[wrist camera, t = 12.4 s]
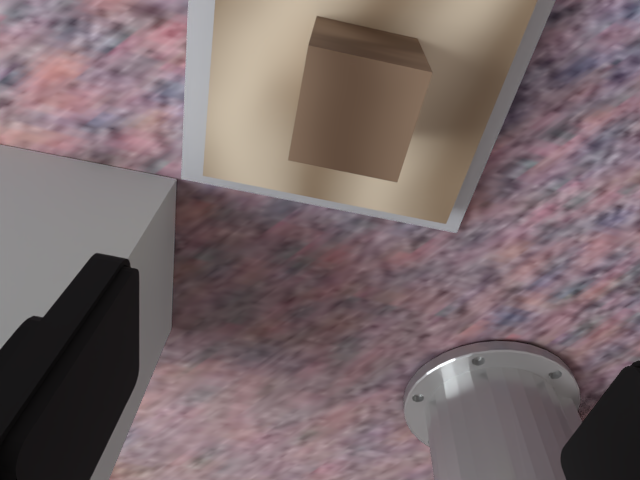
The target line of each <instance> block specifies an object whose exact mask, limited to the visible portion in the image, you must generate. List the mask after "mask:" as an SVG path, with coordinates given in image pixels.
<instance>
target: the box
mask: <svg viewBox="0 0 640 480" xmlns="http://www.w3.org/2000/svg"><path fill="white" fill-rule="evenodd" d="M176 187H177V179H175V178H170V177H165V176H160V175H154V174H149V173H144V172H139V171H134V170H129V169H124V168H119V167H114V166H108V165H103V164H98V163H93V162H88V161H83V160H78V159H73V158H68V157H62V156H57V155H52V154H47V153H42V152H37V151H32V150H27V149H22V148H16V147H11V146H6V145H1V144H0V349H1V348H2V346H3V345H4V344H5V343H6V342H7V340H8V339H9V338H10V337H11V336H12V334H13V333H14V332H15V331H16V330H17V328H18V327H19V326H20V325H21V324H22V323H23V322H24V321H25V320H26V319H28V318H30V317H32V316H39V317H44V315H45V314H46V313H47V312H48V310H49V309H50V308H51V307H52V305H53V304H54V303H55V302H56V300H57V299H58V298H59V297H60V295H61V294H62V293H63V292H64V290H65V289H66V288H67V287H68V285H69V284H70V283H71V282H72V280H73V279H74V278H75V277H76V275H77V274H78V273H79V272H80V270H81V269H82V268H83V266H84V265H85V264H86V263H87V261H88V260H89V259H90V258H91V257H92V256H93V255H94V254H95V253H101V254H106V255H111V256H116V257H121V258H126V259H128V260H129V261H130V266H131V268H136V269H138V270H139V375H138V379H137V382H136V385H135V387H134V390H133V392H132V394H131V396H130V398H129V400H128V402H127V404H126V406H125V408H124V410H123V412H122V414H121V417H120V419H119V421H118V423H117V425H116V427H115V429H114V431H113V433H112V435H111V437H110V439H109V441H108V443H107V446H106V448H105V450H104V452H103V454H102V456H101V458H100V460H99V462H98V464H97V466H96V468H95V470H94V473H93V475H92V477H91V479H90V480H109V478H110V475H111V473H112V471H113V468H114V466H115V463H116V461H117V459H118V456H119V454H120V451H121V449H122V447H123V444H124V442H125V439H126V437H127V435H128V432H129V430H130V427H131V425H132V423H133V420H134V418H135V415H136V413H137V411H138V408H139V406H140V403H141V401H142V398H143V396H144V394H145V391H146V389H147V386H148V384H149V382H150V379H151V377H152V374H153V372H154V370H155V367H156V365H157V362H158V360H159V358H160V355H161V353H162V350H163V348H164V346H165V343H166V341H167V338H168V336H169V334H170V331H171V329H172V301H173V273H174V244H175V216H176Z"/></svg>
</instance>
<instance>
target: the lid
mask: <svg viewBox="0 0 640 480" xmlns="http://www.w3.org/2000/svg"><path fill="white" fill-rule="evenodd" d="M537 1H538V0H215V10H214V24H213V38H212V52H211V66H210V80H209V94H208V108H207V122H206V137H205V151H204V165H203V176H206V177H211V178H216V179H221V180H226V181H231V182H236V183H242V184H247V185H252V186H257V187H262V188H267V189H272V190H277V191H282V192H287V193H292V194H297V195H302V196H307V197H312V198H317V199H322V200H327V201H332V202H337V203H342V204H347V205H352V206H357V207H362V208H367V209H372V210H377V211H382V212H387V213H392V214H397V215H402V216H407V217H413V218H418V219H423V220H428V221H433V222H438V223H443V224H446V223H447V221H448V218H449V216H450V213H451V211H452V208H453V206H454V203H455V201H456V199H457V196H458V194H459V191H460V189H461V186H462V184H463V181H464V179H465V177H466V174H467V172H468V169H469V167H470V164H471V162H472V159H473V157H474V155H475V152H476V150H477V147H478V145H479V142H480V140H481V137H482V135H483V133H484V130H485V128H486V125H487V123H488V120H489V118H490V115H491V113H492V111H493V108H494V106H495V103H496V101H497V98H498V96H499V93H500V91H501V89H502V86H503V84H504V81H505V79H506V76H507V74H508V71H509V69H510V67H511V64H512V62H513V59H514V57H515V54H516V52H517V49H518V47H519V45H520V42H521V40H522V37H523V35H524V32H525V30H526V27H527V25H528V23H529V20H530V18H531V15H532V13H533V10H534V8H535V5H536V3H537Z"/></svg>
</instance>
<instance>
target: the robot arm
mask: <svg viewBox="0 0 640 480" xmlns="http://www.w3.org/2000/svg"><path fill="white" fill-rule="evenodd" d="M138 375H139V270H138V269H136V268H131V266H130V261H129V260H128V259H126V258H121V257H116V256H111V255H106V254H101V253H95V254H94V255H93V256H92V257H91V258H90V259H89V260H88V261H87V263H86V264H85V265H84V266H83V268H82V269H81V270H80V272H79V273H78V274H77V275H76V277H75V278H74V279H73V280H72V282H71V283H70V284H69V285H68V287H67V288H66V289H65V290H64V292H63V293H62V294H61V295H60V297H59V298H58V299H57V300H56V302H55V303H54V304H53V305H52V307H51V308H50V309H49V310H48V312H47V313H46V314H45V315H44V317H39V316H32V317H30V318H28V319H26V320H25V321H24V322H23V323H22V324H21V325H20V326H19V327H18V328H17V330H16V331H15V332H14V333H13V334H12V336H11V337H10V338H9V339H8V340H7V342H6V343H5V344H4V345H3V346H2V348H1V349H0V480H90V479H91V477H92V475H93V473H94V470H95V468H96V466H97V464H98V462H99V460H100V458H101V456H102V454H103V452H104V450H105V448H106V446H107V443H108V441H109V439H110V437H111V435H112V433H113V431H114V429H115V427H116V425H117V423H118V421H119V419H120V417H121V414H122V412H123V410H124V408H125V406H126V404H127V402H128V400H129V398H130V396H131V394H132V392H133V390H134V387H135V385H136V382H137V379H138ZM580 401H581V399H580V389H579V387H578V384H577V382H576V380H575V377H574V375H573V373H572V372H571V370H570V369H569V367H568V366H567V365H566V364H565V363H564V362H563V361H562V360H561V359H560V358H559V357H557V356H555V355H554V354H552V353H550V352H549V351H547V350H544V349H542V348H539V347H536V346H533V345H530V344H524V343H519V342H509V341H490V342H479V343H474V344H470V345H465V346H461V347H458V348H455V349H453V350H450V351H447V352H445V353H443V354H441V355H439V356H437V357H436V358H434V359H432V360H430V361H429V362H428V363H426V364H425V365H424V366H423V367H421V368H420V369H419V370H418V371H417V372H416V373H415V375H414V376H413V377H412V378H411V379H410V381H409V383H408V385H407V387H406V389H405V393H404V398H403V405H404V415H405V420H406V423H407V425H408V427H409V429H410V430H411V432H412V433H413V434H414V435H415V436H416V437H417V438H418V439H419V440H420V441H421V442H423V443H424V444H425V445H427V446H429V447H430V453H431V460H432V467H433V475H434V480H640V361H636V362H634V363H633V364H632V365H631V366H627V367H625V368H624V369H623V370H622V371H621V372H620V373H619V375H618V376H617V377H616V379H615V380H614V381H613V383H612V384H611V385H610V387H609V388H608V389H607V390H606V392H605V393H604V394H603V396H602V397H601V398H600V400H599V401H598V402H597V404H596V405H595V406H594V408H593V409H592V410H591V411H590V413H589V414H588V415H587V417H586V418H585V419H584V421H582V420H581V419H580V416H579V414H578V410H579V405H580Z"/></svg>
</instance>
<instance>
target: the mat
mask: <svg viewBox="0 0 640 480" xmlns="http://www.w3.org/2000/svg"><path fill="white" fill-rule="evenodd" d="M555 1H556V0H538V1H537V3H536V5H535V8H534V10H533V13H532V15H531V18H530V20H529V23H528V25H527V27H526V30H525V32H524V35H523V37H522V40H521V42H520V45H519V47H518V49H517V52H516V54H515V57H514V59H513V62H512V64H511V67H510V69H509V71H508V74H507V76H506V79H505V81H504V84H503V86H502V89H501V91H500V93H499V96H498V98H497V101H496V103H495V106H494V108H493V111H492V113H491V115H490V118H489V120H488V123H487V125H486V128H485V130H484V133H483V135H482V137H481V140H480V142H479V145H478V147H477V150H476V152H475V155H474V157H473V159H472V162H471V164H470V167H469V169H468V172H467V174H466V177H465V179H464V181H463V184H462V186H461V189H460V191H459V194H458V196H457V199H456V201H455V203H454V206H453V208H452V211H451V213H450V216H449V218H448V221H447V223H446V224H443V223H438V222H433V221H428V220H423V219H418V218H413V217H407V216H402V215H397V214H392V213H387V212H382V211H377V210H372V209H367V208H362V207H357V206H352V205H347V204H342V203H337V202H332V201H327V200H322V199H317V198H312V197H307V196H302V195H297V194H292V193H287V192H282V191H277V190H272V189H267V188H262V187H257V186H252V185H247V184H242V183H236V182H231V181H226V180H221V179H216V178H211V177H206V176H203V165H204V151H205V137H206V122H207V108H208V94H209V80H210V66H211V52H212V38H213V24H214V10H215V0H188V21H187V46H186V71H185V95H184V120H183V144H182V169H181V179H183V180H188V181H194V182H199V183H204V184H209V185H214V186H219V187H224V188H229V189H234V190H240V191H245V192H250V193H255V194H260V195H265V196H270V197H275V198H280V199H285V200H291V201H296V202H301V203H306V204H311V205H316V206H321V207H326V208H331V209H337V210H342V211H347V212H352V213H357V214H362V215H367V216H372V217H377V218H383V219H388V220H393V221H398V222H403V223H408V224H413V225H418V226H423V227H428V228H434V229H439V230H444V231H449V232H454V233H457V231H458V229H459V226H460V224H461V222H462V219H463V217H464V214H465V212H466V210H467V207H468V205H469V203H470V200H471V198H472V196H473V193H474V191H475V189H476V186H477V184H478V182H479V179H480V177H481V175H482V172H483V170H484V167H485V165H486V163H487V160H488V158H489V156H490V153H491V151H492V149H493V146H494V144H495V142H496V139H497V137H498V135H499V132H500V130H501V128H502V125H503V123H504V121H505V118H506V116H507V113H508V111H509V109H510V106H511V104H512V102H513V99H514V97H515V95H516V92H517V90H518V88H519V85H520V83H521V81H522V78H523V76H524V74H525V71H526V69H527V67H528V64H529V62H530V59H531V57H532V55H533V52H534V50H535V48H536V45H537V43H538V41H539V38H540V36H541V34H542V31H543V29H544V27H545V24H546V22H547V20H548V17H549V15H550V12H551V10H552V8H553V5H554V3H555Z"/></svg>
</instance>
